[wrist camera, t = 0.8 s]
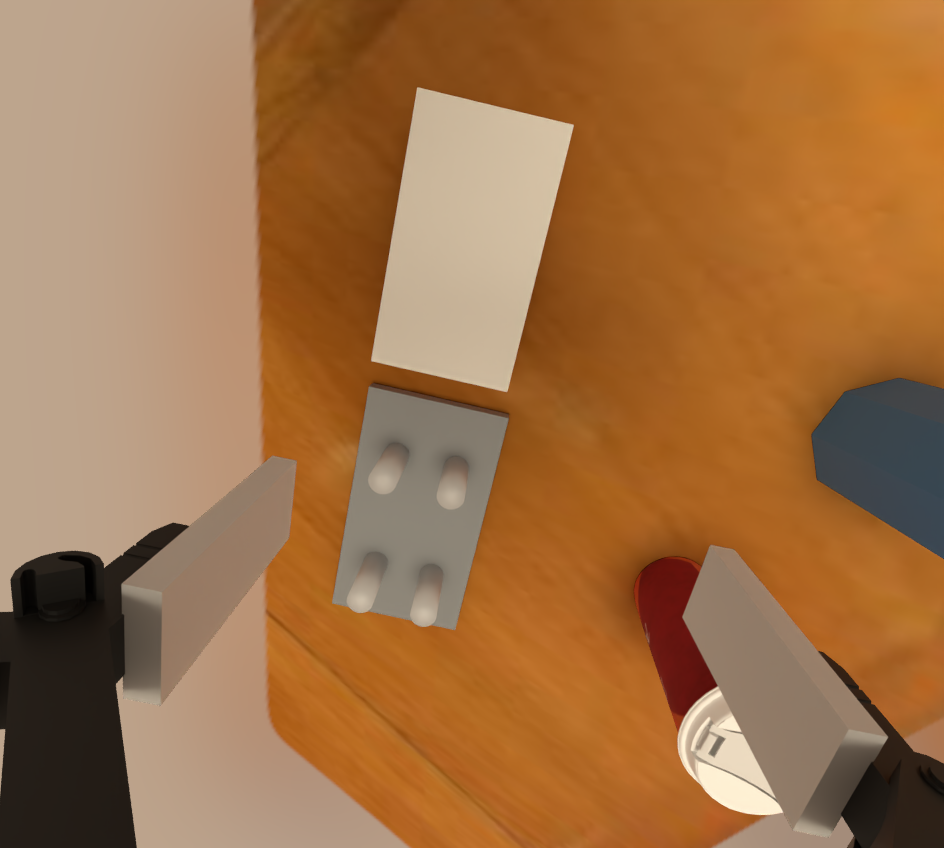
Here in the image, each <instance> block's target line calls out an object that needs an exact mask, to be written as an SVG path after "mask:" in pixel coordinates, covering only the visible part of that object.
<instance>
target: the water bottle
mask: <svg viewBox="0 0 944 848" xmlns="http://www.w3.org/2000/svg"><path fill="white" fill-rule="evenodd" d="M812 443H813V451H814V459H815V468H816V476H817V480H818V481H820V482H822V483H823V484H825V485H826V486H828V487H830V488H831V489H833V490H834V491H836V492H838V493H839V494H841V495H842V496H844V497H846V498H847V499H849V500H850V501H852V502H854V503H855V504H857V505H858V506H860V507H862V508H863V509H865V510H866V511H868V512H870V513H871V514H873V515H874V516H876V517H878V518H879V519H881V520H882V521H884V522H886V523H887V524H889V525H890V526H892V527H894V528H895V529H897V530H898V531H900V532H901V533H903V534H905V535H906V536H908V537H909V538H911V539H913V540H914V541H916V542H917V543H919V544H921V545H922V546H924V547H925V548H927V549H929V550H930V551H932V552H933V553H935V554H937V555H938V556H940V557H941V558H943V559H944V389H942V388H938V387H934V386H930V385H926V384H922V383H918V382H914V381H910V380H906V379H902V378H897V379H893V380H889V381H885V382H881V383H877V384H873V385H869V386H866V387H862V388H858V389H854V390H850V391H846V392H844V394H843V395H842V396H841V398H840V399H839V400H838V401H837V403H836V404H835V405H834V406H833V408H832V409H831V410H830V412H829V413H828V414H827V415H826V417H825V418H824V419H823V420H822V422H821V423H820V424H819V426H818V427H817V428H816V429H815V431H814V432H813V433H812Z"/></svg>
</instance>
